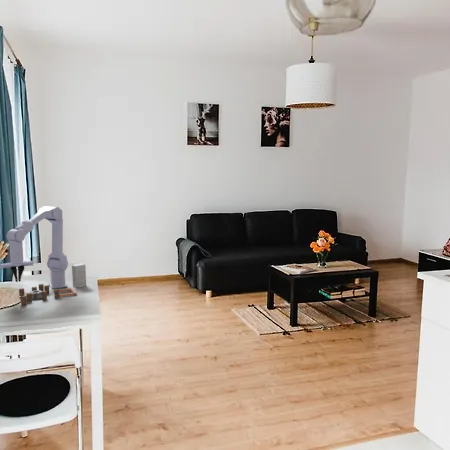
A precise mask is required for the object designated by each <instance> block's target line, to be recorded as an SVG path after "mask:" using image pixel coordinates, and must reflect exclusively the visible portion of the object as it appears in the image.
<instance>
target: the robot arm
mask: <svg viewBox="0 0 450 450" xmlns="http://www.w3.org/2000/svg"><path fill="white" fill-rule="evenodd" d="M44 219H45V220H47V221H49V222H50V223H51V253H50V254H49V255H48V257H47V262H46V266H47V268H48V269H49V271H50V283H48V285H49V287H50V288H51V289H54V290H55V289H63V288H67V287H68V284H66V270H67V269H68V266H69V262H68V257H67V255H66V254H65V253H64V252H63V250H64V249H63V246H64V245H63V243H64V242H63V241H64V240H63V239H64V237H63V236H64V234H63V233H64V224H63V223H64V222H63V221H64V220H63V210H62V209H61V208H60V207H59V206H47V205H42V206H41V207H40V208H38V211H37V212H36V213H35V214H34V215H33V216H32V217H31V218H30V219H29V220H28V219H26V220H22V221H21V223H20V224H18V225H17V226H15V228H12V229H10V230H9V231H7V232H6V240H7V242H8V245H9V256H10V257H9V258H10V262H6V263H1V264H0V269H9V268H10V269H11V272H12V274H13V276H14V279H15V282H16V283H18V282H21V279H22V277H23V272H24V271H25V267H29V266H34V260H30V261H29V260H26V261H25V260H24V248H23V244H24V243H23V241H24V240H25V239H26V236H27V235H28V234H29V233H31V232H32V230H34V226H35V225H37V224H38V223H40V222H41V221H42V220H44ZM68 288H69V287H68Z"/></svg>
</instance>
